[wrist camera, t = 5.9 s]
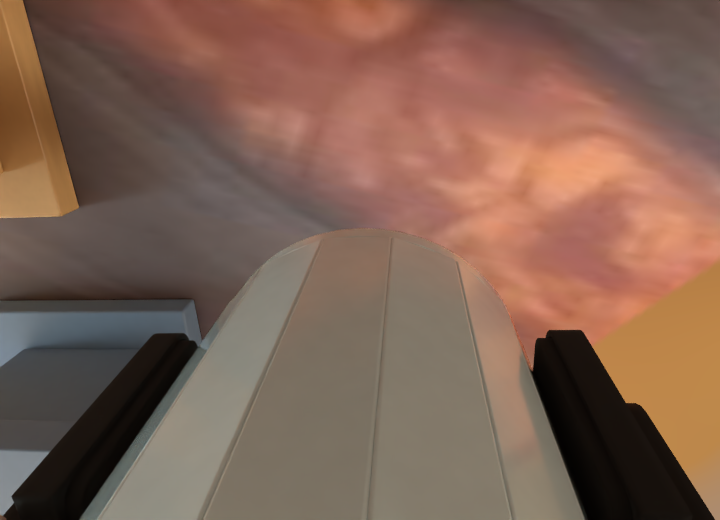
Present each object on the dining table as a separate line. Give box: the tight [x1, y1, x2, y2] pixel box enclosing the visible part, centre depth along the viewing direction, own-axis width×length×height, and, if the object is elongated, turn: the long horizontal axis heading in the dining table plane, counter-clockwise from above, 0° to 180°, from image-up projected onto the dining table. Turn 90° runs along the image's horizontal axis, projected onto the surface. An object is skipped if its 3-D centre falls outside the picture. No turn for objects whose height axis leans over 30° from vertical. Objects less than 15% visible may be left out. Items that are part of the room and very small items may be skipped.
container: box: [79, 228, 589, 520], centre depth 8 cm, size 6×6×7 cm
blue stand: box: [0, 299, 202, 516], centre depth 17 cm, size 8×8×8 cm
